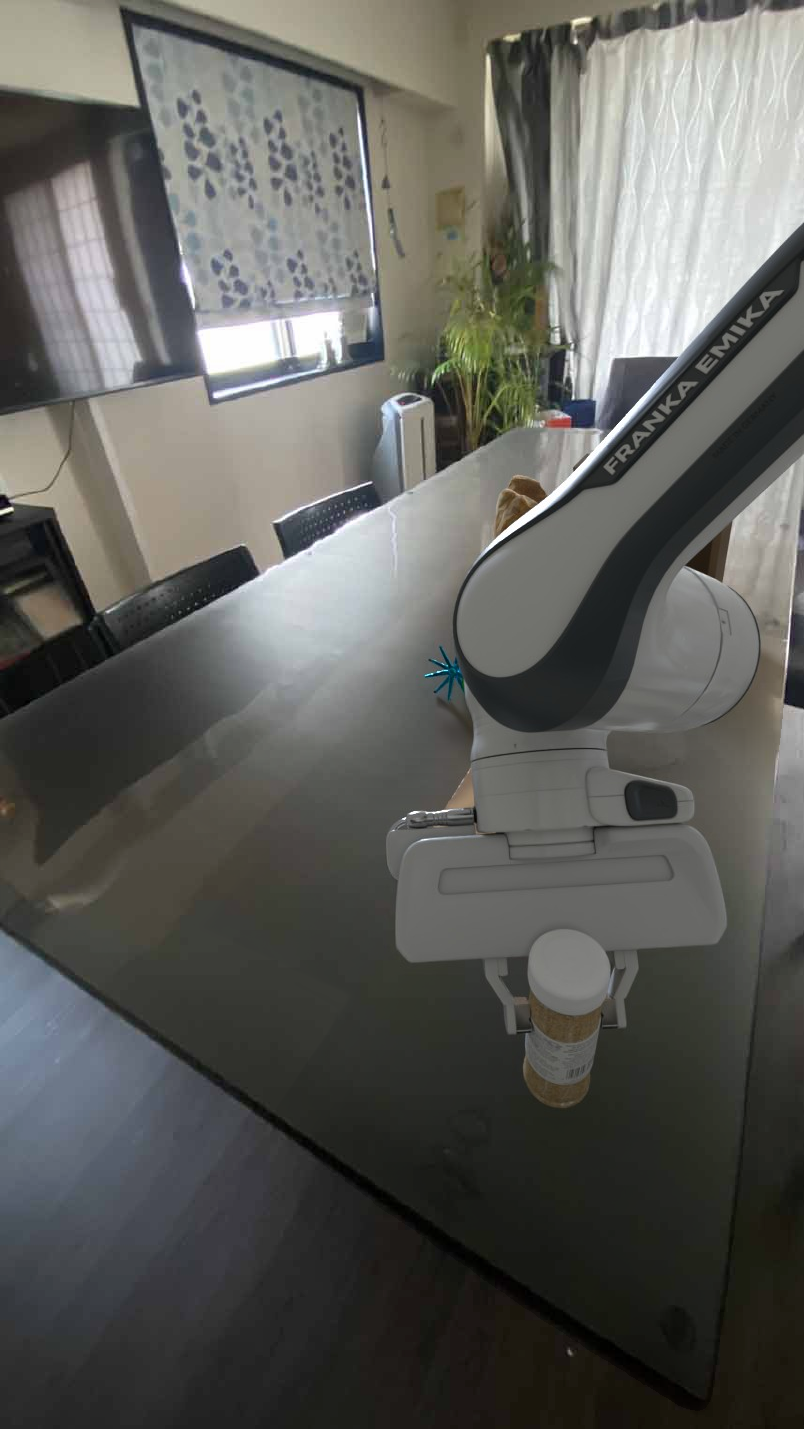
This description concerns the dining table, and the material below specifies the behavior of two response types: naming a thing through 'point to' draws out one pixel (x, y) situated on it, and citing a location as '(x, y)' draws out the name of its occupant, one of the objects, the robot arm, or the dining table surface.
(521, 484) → the rough brown rock
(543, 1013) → the sprinkles bottle
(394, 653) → the dining table surface
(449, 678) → the stick construction toy
